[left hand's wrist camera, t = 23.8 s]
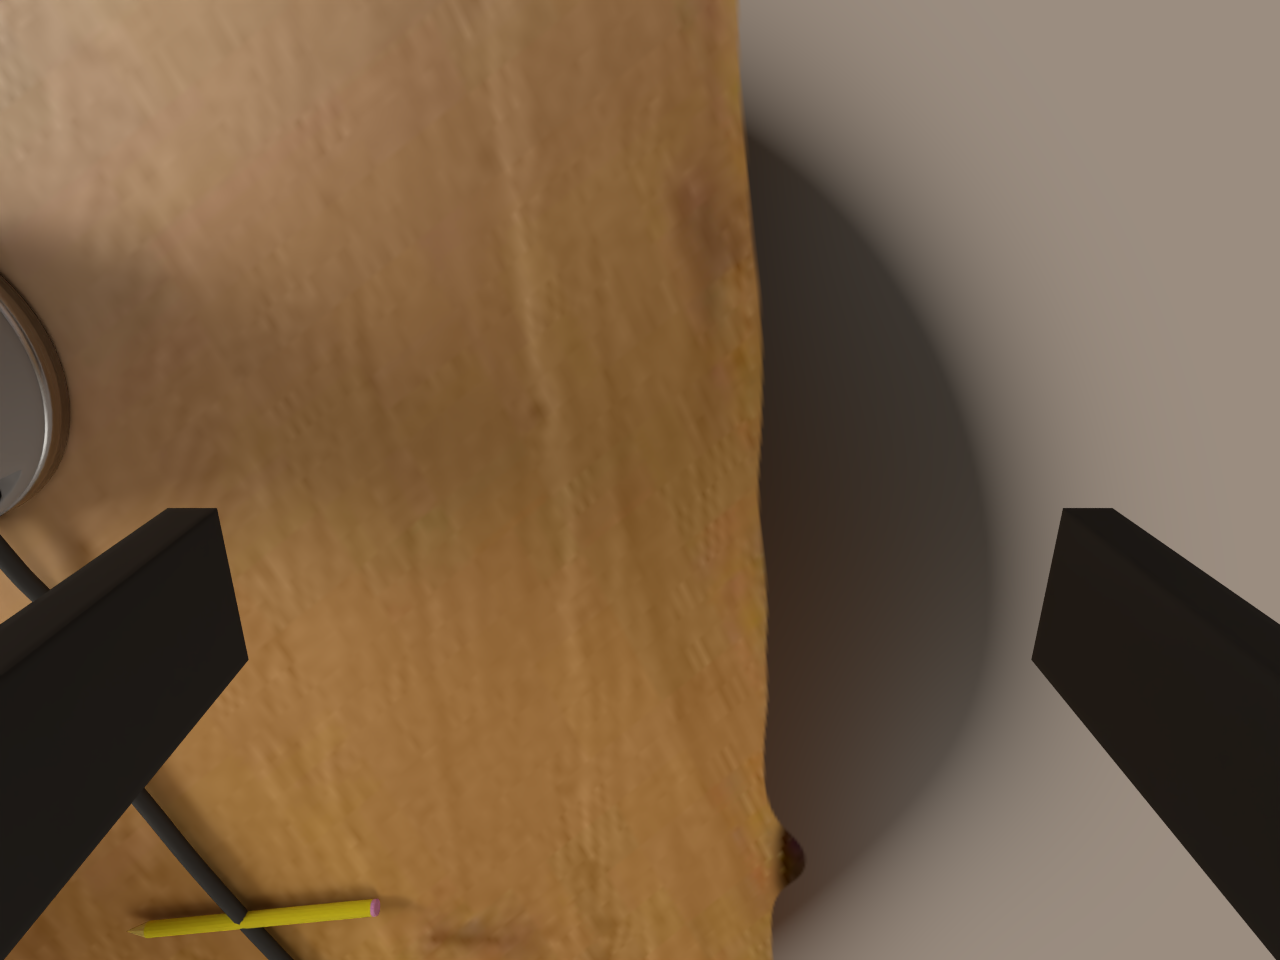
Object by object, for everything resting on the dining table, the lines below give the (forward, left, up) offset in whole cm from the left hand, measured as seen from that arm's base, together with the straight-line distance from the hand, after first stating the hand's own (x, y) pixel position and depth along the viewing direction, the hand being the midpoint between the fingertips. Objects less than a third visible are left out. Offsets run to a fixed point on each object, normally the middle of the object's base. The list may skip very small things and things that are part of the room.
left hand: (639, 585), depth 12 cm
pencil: (-40, +22, -26) cm, 53 cm away
